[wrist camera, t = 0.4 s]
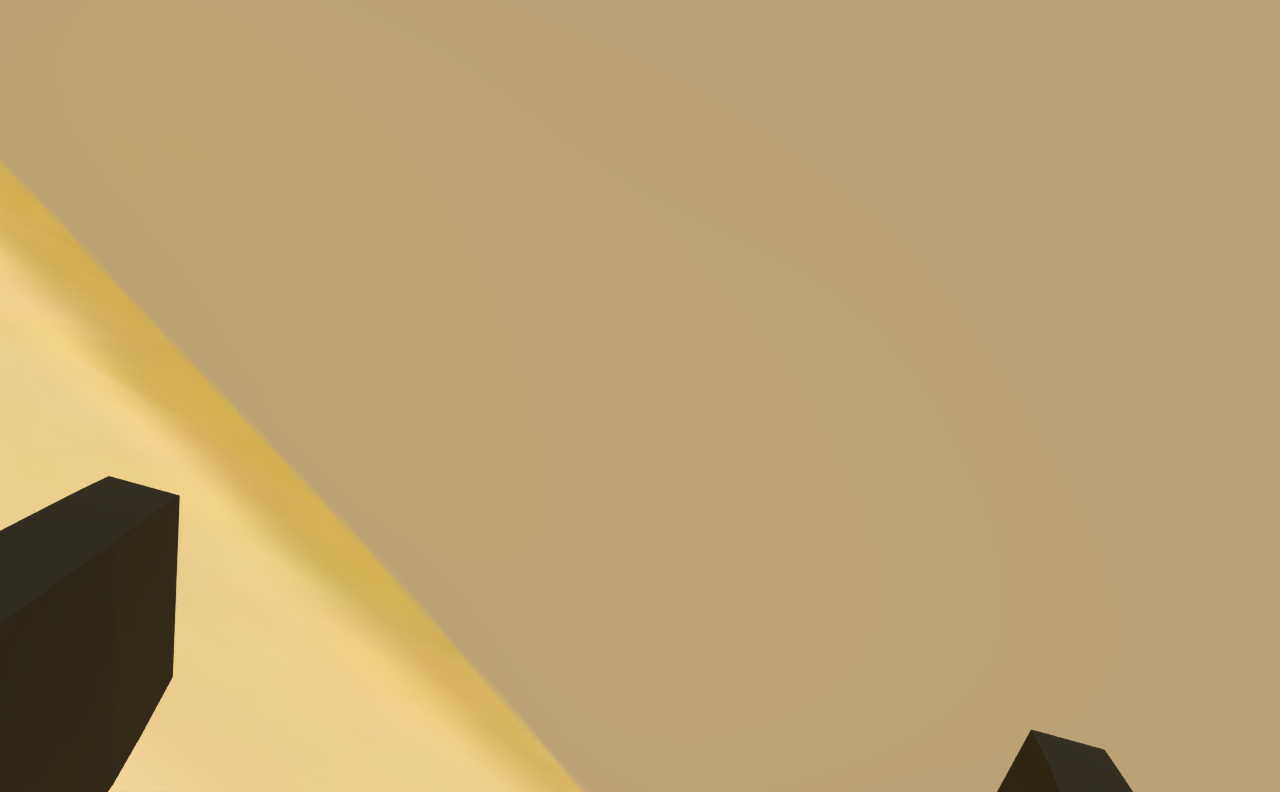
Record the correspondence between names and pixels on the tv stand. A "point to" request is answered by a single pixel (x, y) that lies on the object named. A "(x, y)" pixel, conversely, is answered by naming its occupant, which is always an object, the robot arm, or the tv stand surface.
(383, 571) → the tv stand surface
